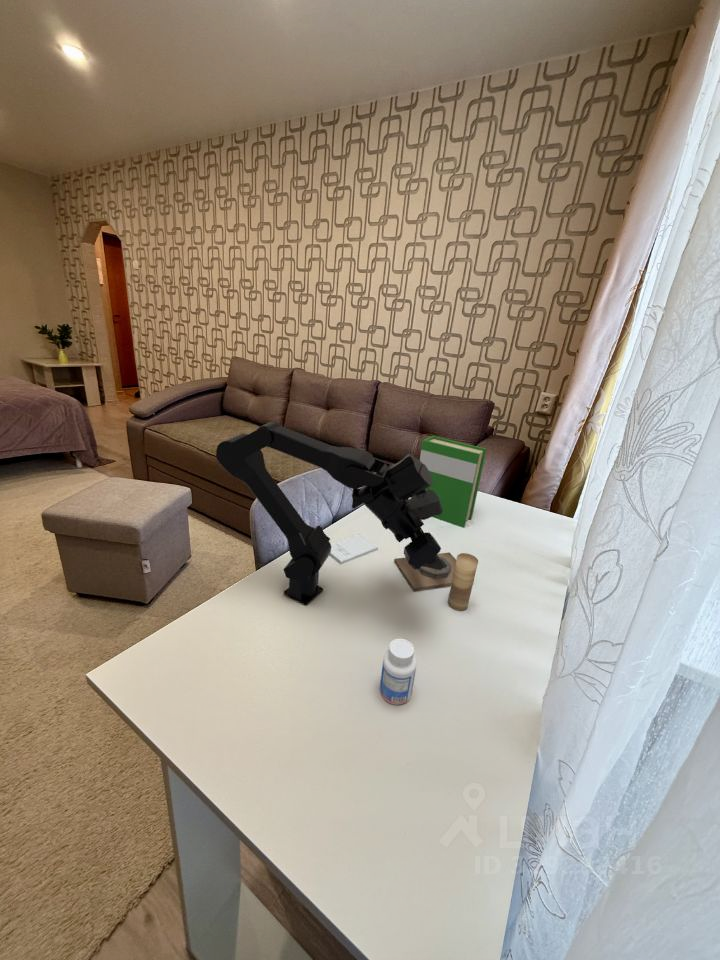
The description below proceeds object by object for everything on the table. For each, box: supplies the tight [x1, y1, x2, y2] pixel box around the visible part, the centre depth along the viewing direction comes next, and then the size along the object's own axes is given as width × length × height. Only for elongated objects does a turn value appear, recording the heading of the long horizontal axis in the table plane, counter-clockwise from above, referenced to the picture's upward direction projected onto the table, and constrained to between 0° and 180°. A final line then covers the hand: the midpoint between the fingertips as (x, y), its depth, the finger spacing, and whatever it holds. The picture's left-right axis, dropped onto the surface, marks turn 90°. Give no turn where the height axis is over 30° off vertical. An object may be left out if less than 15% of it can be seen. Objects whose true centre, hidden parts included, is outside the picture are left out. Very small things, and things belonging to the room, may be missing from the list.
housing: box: [393, 551, 475, 593], centre depth 98 cm, size 16×12×2 cm
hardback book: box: [419, 435, 488, 529], centre depth 124 cm, size 18×7×24 cm, turn 57°
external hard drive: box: [329, 533, 379, 565], centre depth 105 cm, size 2×8×12 cm
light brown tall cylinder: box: [447, 552, 479, 612], centre depth 86 cm, size 4×4×12 cm
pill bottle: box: [379, 638, 418, 705], centre depth 64 cm, size 6×5×10 cm
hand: (434, 554), depth 81 cm, fingers open, 9 cm apart
